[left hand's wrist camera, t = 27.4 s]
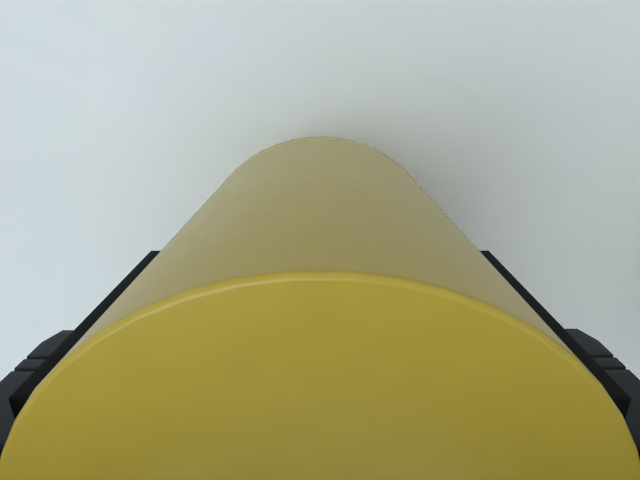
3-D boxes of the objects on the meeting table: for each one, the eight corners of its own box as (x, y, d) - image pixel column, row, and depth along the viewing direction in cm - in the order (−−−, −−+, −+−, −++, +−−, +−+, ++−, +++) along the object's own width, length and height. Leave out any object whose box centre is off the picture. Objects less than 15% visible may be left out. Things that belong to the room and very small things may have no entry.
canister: (355, 82, 14) (448, 97, 4) (479, 283, 17) (736, 617, 6) (153, 226, 16) (-156, 502, 6) (292, 389, 18) (257, 788, 8)
